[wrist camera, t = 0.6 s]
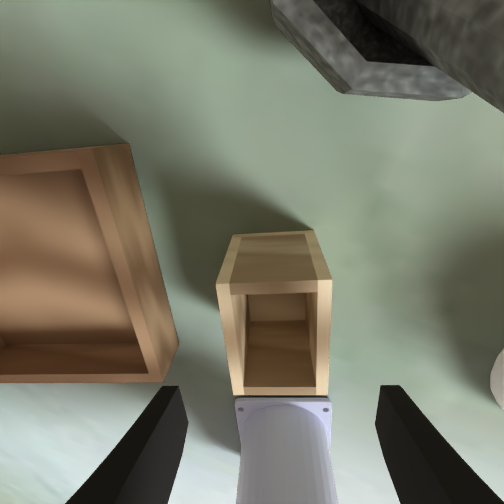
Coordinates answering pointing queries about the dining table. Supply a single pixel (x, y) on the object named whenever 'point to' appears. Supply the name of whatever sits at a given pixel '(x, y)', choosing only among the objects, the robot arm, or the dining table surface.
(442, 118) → the dining table surface
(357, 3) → the mortar and pestle
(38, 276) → the large crate
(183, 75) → the dining table surface
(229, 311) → the small crate
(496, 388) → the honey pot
